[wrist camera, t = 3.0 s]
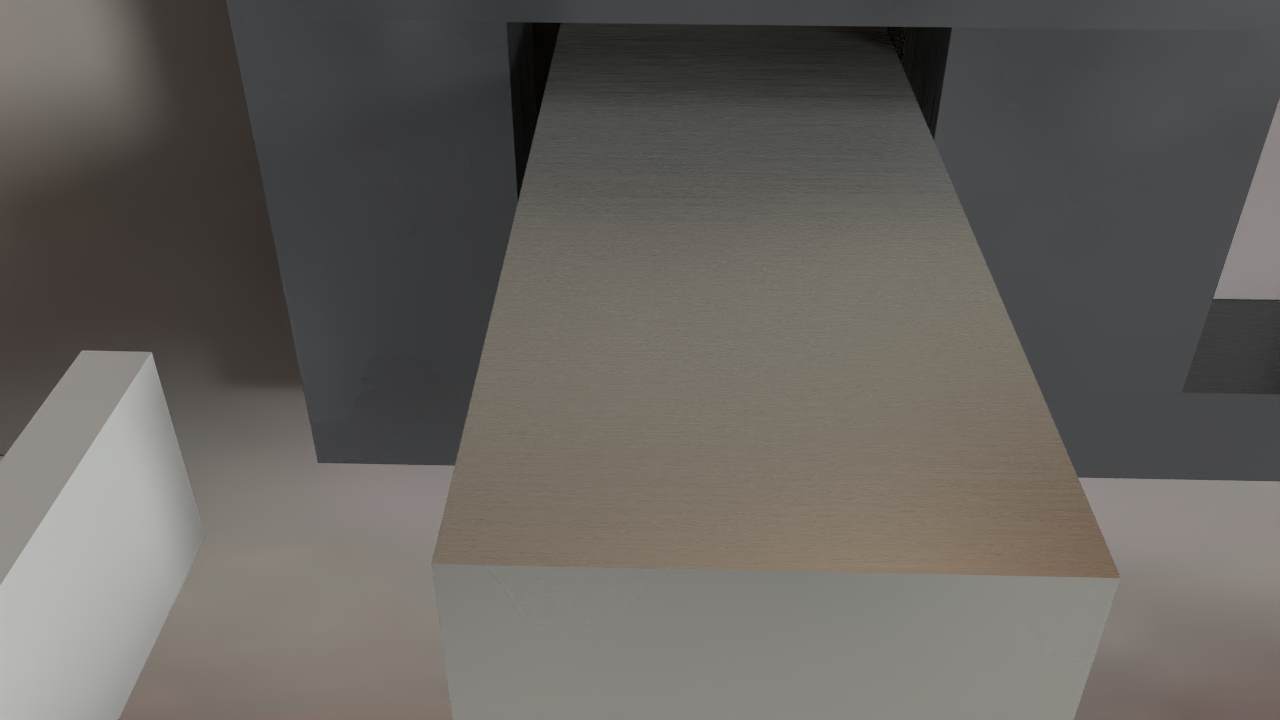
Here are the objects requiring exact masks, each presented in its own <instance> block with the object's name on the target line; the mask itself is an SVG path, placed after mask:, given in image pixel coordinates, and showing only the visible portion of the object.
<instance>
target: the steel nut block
mask: <svg viewBox="0 0 1280 720" xmlns="http://www.w3.org/2000/svg"><path fill="white" fill-rule="evenodd" d="M432 572H433V579H434V586H435V594H436V601H437V608H438V615H439V623H440V630H441V637H442V645H443V652H444V659H445V667H446V674H447V681H448V688H449V696H450V703H451V710H452V718H453V720H1074V717H1075V714H1076V711H1077V708H1078V705H1079V702H1080V699H1081V696H1082V693H1083V690H1084V687H1085V684H1086V681H1087V678H1088V675H1089V672H1090V669H1091V666H1092V663H1093V660H1094V657H1095V654H1096V651H1097V648H1098V645H1099V642H1100V639H1101V636H1102V633H1103V630H1104V627H1105V624H1106V621H1107V618H1108V615H1109V612H1110V609H1111V606H1112V603H1113V600H1114V597H1115V594H1116V591H1117V588H1118V585H1119V582H1120V579H1121V577H1120V575H1119V573H1118V570H1117V568H1116V566H1115V563H1114V561H1113V559H1112V556H1111V554H1110V552H1109V549H1108V547H1107V545H1106V542H1105V540H1104V538H1103V535H1102V533H1101V531H1100V528H1099V526H1098V524H1097V521H1096V519H1095V517H1094V514H1093V512H1092V510H1091V507H1090V505H1089V502H1088V500H1087V498H1086V495H1085V493H1084V491H1083V488H1082V486H1081V484H1080V481H1079V479H1078V477H1077V474H1076V472H1075V470H1074V467H1073V465H1072V463H1071V460H1070V458H1069V456H1068V453H1067V451H1066V449H1065V446H1064V444H1063V442H1062V439H1061V437H1060V435H1059V432H1058V430H1057V428H1056V425H1055V423H1054V421H1053V418H1052V416H1051V414H1050V411H1049V409H1048V407H1047V404H1046V402H1045V400H1044V397H1043V395H1042V393H1041V390H1040V388H1039V385H1038V383H1037V381H1036V378H1035V376H1034V374H1033V371H1032V369H1031V367H1030V364H1029V362H1028V360H1027V357H1026V355H1025V353H1024V350H1023V348H1022V346H1021V343H1020V341H1019V339H1018V336H1017V334H1016V332H1015V329H1014V327H1013V325H1012V322H1011V320H1010V318H1009V315H1008V313H1007V311H1006V308H1005V306H1004V304H1003V301H1002V299H1001V297H1000V294H999V292H998V290H997V287H996V285H995V283H994V280H993V278H992V276H991V273H990V271H989V269H988V266H987V264H986V261H985V259H984V257H983V254H982V252H981V250H980V247H979V245H978V243H977V240H976V238H975V236H974V233H973V231H972V229H971V226H970V224H969V222H968V219H967V217H966V215H965V212H964V210H963V208H962V205H961V203H960V201H959V198H958V196H957V194H956V191H955V189H954V187H953V184H952V182H951V180H950V177H949V175H948V173H947V170H946V168H945V166H944V163H943V161H942V159H941V156H940V154H939V152H938V149H937V147H936V145H935V142H934V140H933V137H932V135H931V133H930V130H929V128H928V126H927V123H926V121H925V119H924V116H923V114H922V112H921V109H920V107H919V105H918V102H917V100H916V98H915V95H914V93H913V91H912V88H911V86H910V84H909V81H908V79H907V77H906V74H905V72H904V70H903V67H902V65H901V63H900V60H899V58H898V56H897V53H896V51H895V49H894V46H893V44H892V42H891V39H890V37H889V35H888V32H887V30H886V28H885V27H881V26H797V25H712V24H627V23H561V25H560V29H559V33H558V37H557V41H556V45H555V50H554V54H553V58H552V62H551V66H550V71H549V75H548V79H547V83H546V87H545V91H544V96H543V100H542V104H541V108H540V112H539V116H538V121H537V125H536V129H535V133H534V137H533V142H532V146H531V150H530V154H529V158H528V162H527V167H526V171H525V175H524V179H523V183H522V188H521V192H520V196H519V200H518V204H517V208H516V213H515V217H514V221H513V225H512V229H511V234H510V238H509V242H508V246H507V250H506V254H505V259H504V263H503V267H502V271H501V275H500V280H499V284H498V288H497V292H496V296H495V300H494V305H493V309H492V313H491V317H490V321H489V325H488V330H487V334H486V338H485V342H484V346H483V351H482V355H481V359H480V363H479V367H478V371H477V376H476V380H475V384H474V388H473V392H472V397H471V401H470V405H469V409H468V413H467V417H466V422H465V426H464V430H463V434H462V438H461V443H460V447H459V451H458V455H457V459H456V463H455V468H454V472H453V476H452V480H451V484H450V488H449V493H448V497H447V501H446V505H445V509H444V514H443V518H442V522H441V526H440V530H439V534H438V539H437V543H436V547H435V551H434V555H433V560H432Z"/></svg>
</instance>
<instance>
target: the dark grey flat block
mask: <svg viewBox="0 0 1280 720" xmlns="http://www.w3.org/2000/svg"><path fill="white" fill-rule="evenodd" d="M226 4H227V9H228V14H229V19H230V24H231V29H232V34H233V39H234V44H235V49H236V54H237V59H238V64H239V69H240V74H241V79H242V84H243V89H244V94H245V99H246V104H247V109H248V114H249V119H250V124H251V129H252V134H253V139H254V144H255V149H256V154H257V159H258V164H259V169H260V174H261V179H262V184H263V189H264V194H265V199H266V204H267V209H268V214H269V219H270V224H271V229H272V235H273V240H274V245H275V250H276V255H277V260H278V265H279V270H280V275H281V280H282V285H283V290H284V295H285V300H286V305H287V310H288V315H289V320H290V325H291V330H292V335H293V340H294V345H295V350H296V355H297V360H298V365H299V370H300V375H301V380H302V385H303V390H304V395H305V400H306V405H307V410H308V415H309V420H310V425H311V430H312V435H313V440H314V445H315V450H316V455H317V460H318V463H356V464H408V465H455V463H456V459H457V455H458V451H459V447H460V443H461V438H462V434H463V430H464V426H465V422H466V417H467V413H468V409H469V405H470V401H471V397H472V392H473V388H474V384H475V380H476V376H477V371H478V367H479V363H480V359H481V355H482V351H483V346H484V342H485V338H486V334H487V330H488V325H489V321H490V317H491V313H492V309H493V305H494V300H495V296H496V292H497V288H498V284H499V280H500V275H501V271H502V267H503V263H504V259H505V254H506V250H507V246H508V242H509V238H510V234H511V229H512V225H513V221H514V217H515V213H516V208H517V204H518V200H519V196H520V192H521V188H522V183H523V179H524V175H525V171H526V167H527V162H528V158H529V154H530V150H531V146H532V142H533V137H534V133H535V129H536V125H537V115H536V96H535V76H534V56H533V36H532V22H543V23H627V24H712V25H797V26H881V27H907V33H906V41H905V48H904V56H903V63H902V67H903V70H904V72H905V74H906V77H907V79H908V81H909V84H910V86H911V88H912V91H913V93H914V95H915V98H916V100H917V102H918V105H919V107H920V109H921V112H922V114H923V116H924V119H925V121H926V123H927V126H928V128H929V130H930V133H931V135H932V137H933V140H934V142H935V145H936V147H937V149H938V152H939V154H940V156H941V159H942V161H943V163H944V166H945V168H946V170H947V173H948V175H949V177H950V180H951V182H952V184H953V187H954V189H955V191H956V194H957V196H958V198H959V201H960V203H961V205H962V208H963V210H964V212H965V215H966V217H967V219H968V222H969V224H970V226H971V229H972V231H973V233H974V236H975V238H976V240H977V243H978V245H979V247H980V250H981V252H982V254H983V257H984V259H985V261H986V264H987V266H988V269H989V271H990V273H991V276H992V278H993V280H994V283H995V285H996V287H997V290H998V292H999V294H1000V297H1001V299H1002V301H1003V304H1004V306H1005V308H1006V311H1007V313H1008V315H1009V318H1010V320H1011V322H1012V325H1013V327H1014V329H1015V332H1016V334H1017V336H1018V339H1019V341H1020V343H1021V346H1022V348H1023V350H1024V353H1025V355H1026V357H1027V360H1028V362H1029V364H1030V367H1031V369H1032V371H1033V374H1034V376H1035V378H1036V381H1037V383H1038V385H1039V388H1040V390H1041V393H1042V395H1043V397H1044V400H1045V402H1046V404H1047V407H1048V409H1049V411H1050V414H1051V416H1052V418H1053V421H1054V423H1055V425H1056V428H1057V430H1058V432H1059V435H1060V437H1061V439H1062V442H1063V444H1064V446H1065V449H1066V451H1067V453H1068V456H1069V458H1070V460H1071V463H1072V465H1073V467H1074V470H1075V472H1076V474H1077V477H1086V478H1138V479H1190V480H1242V481H1280V301H1260V300H1213V297H1214V294H1215V291H1216V288H1217V285H1218V282H1219V279H1220V276H1221V273H1222V270H1223V267H1224V264H1225V261H1226V258H1227V255H1228V252H1229V249H1230V246H1231V243H1232V240H1233V237H1234V233H1235V230H1236V227H1237V224H1238V221H1239V218H1240V215H1241V212H1242V209H1243V206H1244V203H1245V200H1246V197H1247V194H1248V191H1249V188H1250V185H1251V182H1252V179H1253V176H1254V173H1255V170H1256V167H1257V164H1258V161H1259V158H1260V155H1261V152H1262V149H1263V146H1264V143H1265V140H1266V137H1267V134H1268V131H1269V128H1270V125H1271V122H1272V119H1273V116H1274V113H1275V110H1276V107H1277V104H1278V101H1279V98H1280V0H226Z"/></svg>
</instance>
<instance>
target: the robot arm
mask: <svg viewBox="0 0 1280 720" xmlns="http://www.w3.org/2000/svg"><path fill="white" fill-rule="evenodd" d="M204 539H205V534H204V530H203V527H202V523H201V520H200V516H199V513H198V510H197V506H196V503H195V499H194V496H193V492H192V489H191V486H190V482H189V479H188V475H187V472H186V468H185V465H184V462H183V458H182V455H181V451H180V448H179V444H178V441H177V437H176V434H175V431H174V427H173V424H172V420H171V417H170V413H169V410H168V407H167V403H166V400H165V396H164V393H163V389H162V386H161V383H160V379H159V376H158V372H157V369H156V365H155V362H154V358H153V355H152V352H130V351H84V350H82V351H81V352H80V354H79V355H78V356H77V358H76V359H75V360H74V362H73V363H72V365H71V366H70V367H69V369H68V370H67V371H66V373H65V374H64V375H63V377H62V378H61V380H60V381H59V382H58V384H57V385H56V386H55V388H54V389H53V390H52V392H51V393H50V395H49V396H48V397H47V399H46V400H45V401H44V403H43V404H42V405H41V407H40V408H39V410H38V411H37V412H36V414H35V415H34V416H33V418H32V419H31V420H30V422H29V423H28V425H27V426H26V427H25V429H24V430H23V431H22V433H21V434H20V435H19V437H18V438H17V440H16V441H15V442H14V444H13V445H12V446H11V448H10V449H9V450H8V452H7V453H6V455H5V456H4V457H3V459H2V460H1V461H0V720H118V719H119V717H120V715H121V713H122V711H123V709H124V707H125V705H126V702H127V700H128V698H129V696H130V694H131V692H132V690H133V688H134V686H135V684H136V682H137V679H138V677H139V675H140V673H141V671H142V669H143V667H144V665H145V663H146V661H147V658H148V656H149V654H150V652H151V650H152V648H153V646H154V644H155V642H156V640H157V637H158V635H159V633H160V631H161V629H162V627H163V625H164V623H165V621H166V619H167V617H168V614H169V612H170V610H171V608H172V606H173V604H174V602H175V600H176V598H177V596H178V593H179V591H180V589H181V587H182V585H183V583H184V581H185V579H186V577H187V575H188V572H189V570H190V568H191V566H192V564H193V562H194V560H195V558H196V556H197V554H198V551H199V549H200V547H201V545H202V543H203V541H204Z"/></svg>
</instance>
